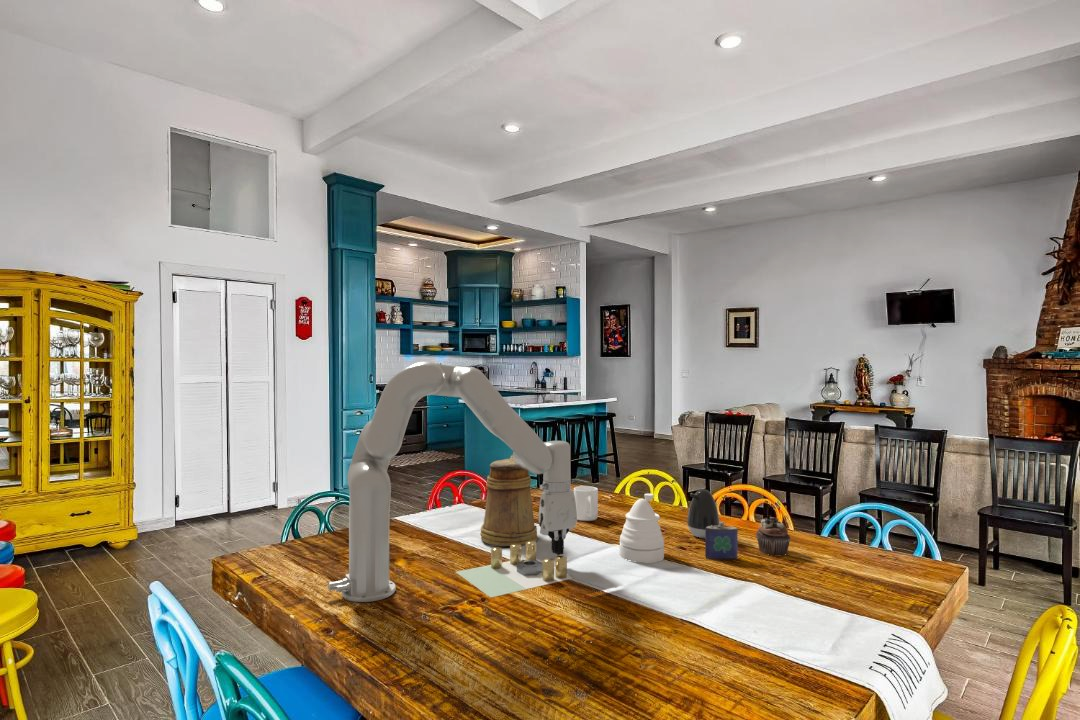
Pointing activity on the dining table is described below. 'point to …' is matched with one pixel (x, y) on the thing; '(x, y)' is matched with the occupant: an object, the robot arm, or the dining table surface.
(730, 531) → the flask
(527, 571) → the nut
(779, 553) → the cupcake
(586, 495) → the mug
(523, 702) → the dining table surface
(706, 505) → the penguin figurine
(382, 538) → the robot arm
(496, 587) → the mat
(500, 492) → the tankard
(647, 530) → the honey pot
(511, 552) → the spacers
